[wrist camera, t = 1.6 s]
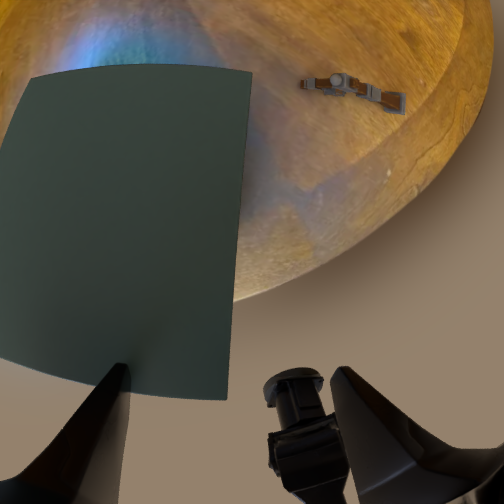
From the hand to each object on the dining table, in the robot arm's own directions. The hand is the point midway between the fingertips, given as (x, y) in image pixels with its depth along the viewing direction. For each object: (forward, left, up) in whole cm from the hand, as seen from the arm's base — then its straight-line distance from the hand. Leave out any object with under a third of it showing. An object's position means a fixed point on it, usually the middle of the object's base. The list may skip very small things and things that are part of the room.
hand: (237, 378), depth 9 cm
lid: (+4, +6, -4) cm, 8 cm away
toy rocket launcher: (+12, -8, -13) cm, 20 cm away
